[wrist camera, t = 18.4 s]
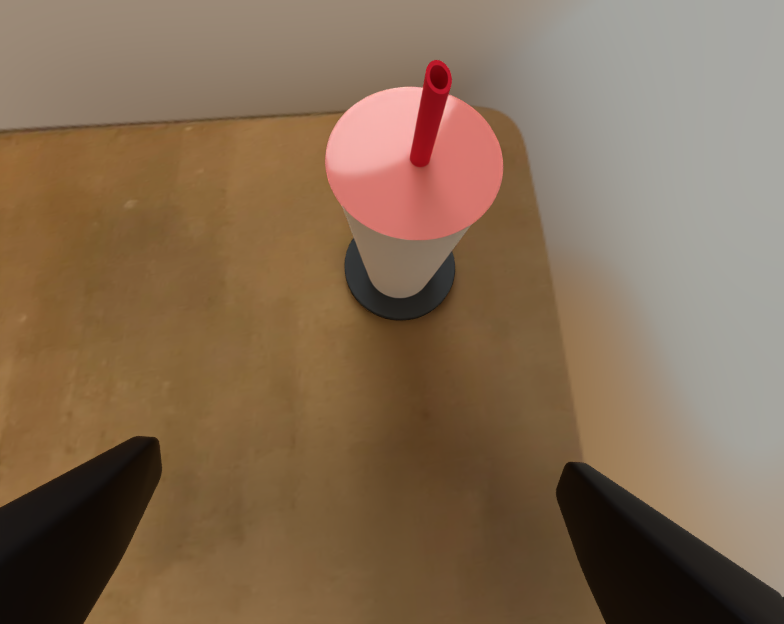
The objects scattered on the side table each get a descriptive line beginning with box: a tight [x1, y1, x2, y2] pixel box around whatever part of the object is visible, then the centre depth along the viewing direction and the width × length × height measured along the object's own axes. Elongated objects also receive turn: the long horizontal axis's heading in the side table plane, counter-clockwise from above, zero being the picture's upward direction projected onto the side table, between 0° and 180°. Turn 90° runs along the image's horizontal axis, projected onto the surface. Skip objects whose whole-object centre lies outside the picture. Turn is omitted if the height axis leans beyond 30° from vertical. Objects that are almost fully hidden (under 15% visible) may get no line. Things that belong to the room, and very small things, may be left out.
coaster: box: [345, 238, 455, 320], centre depth 20 cm, size 6×6×1 cm
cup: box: [325, 60, 503, 298], centre depth 14 cm, size 5×5×12 cm
